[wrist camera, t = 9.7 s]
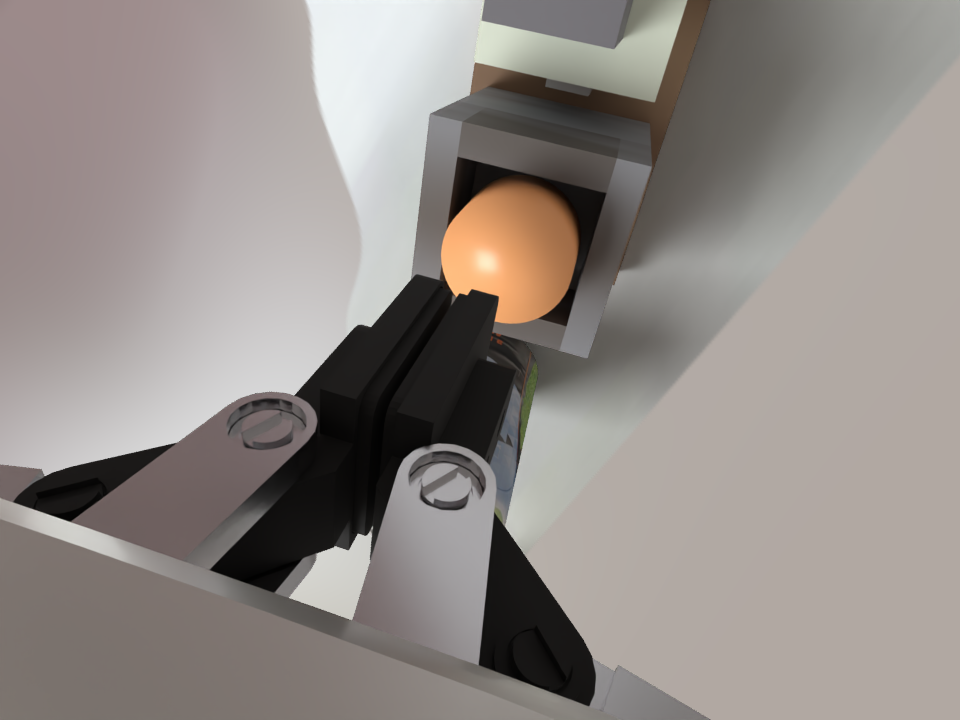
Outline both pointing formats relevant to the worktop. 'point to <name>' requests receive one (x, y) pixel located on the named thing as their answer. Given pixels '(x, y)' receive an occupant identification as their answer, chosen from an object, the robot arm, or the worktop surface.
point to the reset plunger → (514, 246)
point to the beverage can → (511, 416)
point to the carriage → (583, 41)
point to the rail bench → (553, 172)
